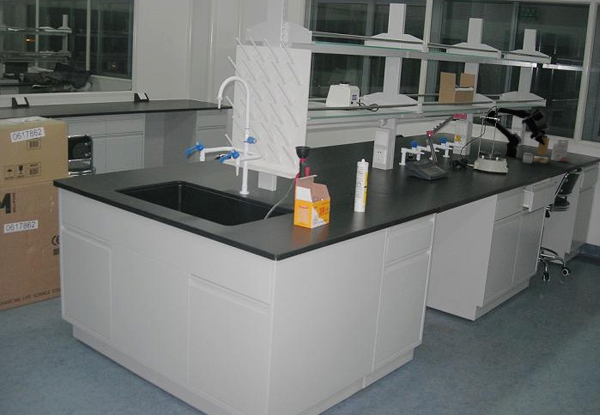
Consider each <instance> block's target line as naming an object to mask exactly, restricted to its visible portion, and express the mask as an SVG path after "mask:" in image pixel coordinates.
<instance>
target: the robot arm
mask: <svg viewBox="0 0 600 415" xmlns="http://www.w3.org/2000/svg"><path fill="white" fill-rule="evenodd" d="M500 107H501V108H500V109H499V110H498V113H501V114H505V115H506V114H507V115H511V116H512V115H513V116H516V117H517V118H520V119H522V120H521V125H524V124H525V125H526V126H527V128H528V131H530V132H531V134H530V135H529V136H530V137H529V138H530V139H531V140H534V141H536V142H537V143H538V144H539V143H541V144H542V145H545V143H544V141H543V139H542V137H543V135H546V134H547V130H546V129H549V124H548V123H547V122H543V123H542V124H541V125H540V124H538V123H537V122H540V121H541V120H542V119H544V118H545V117H546V115H545V113H544V111H542V110H541V108H537V109H536V110H535V111H534V112H531V111H530V110H528V109H516V108H515V109H514V108H509V107H505V106H500ZM496 115H497V114H496V113H495V111H491V112H490V113H489V114H488V117H494V118H495V117H496ZM484 121H485V122H486V123H488V124H491V125H492V126H493V127H495V123H496V121H495V120H494V119H489V118H487V119H485V120H484ZM495 129H496V130H498V131H499V132H500V133H501V134H502V135H504V136H505V137H506V139H507V141H508V142H507V143H506V152H505V156H506V157H512V158H515V157H517V154H518V147H519V146H520V145H521V144H522V138H521V136H520V135H518V133H512V132H511V131H510V130H509V129H507V127H505V125H503V124H502V123H501V122H500V121H499V120H497V123H496V127H495Z"/></svg>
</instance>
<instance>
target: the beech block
mask: <svg viewBox="0 0 600 415" xmlns="http://www.w3.org/2000/svg"><path fill="white" fill-rule="evenodd" d="M548 161H549V157H546V156H545V157H544V156H538V155H537V156H536V155H533V160H532V162H535V163H542V164H548Z"/></svg>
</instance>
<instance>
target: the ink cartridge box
mask: <svg viewBox="0 0 600 415" xmlns="http://www.w3.org/2000/svg"><path fill="white" fill-rule="evenodd" d="M568 146H569V140H567V139H558V140H557V143H556V142H553V146H552V150H551V152H552V153H551V157H550V160H552V161H554V162H566V160H567V159H566V158H567V153H568Z"/></svg>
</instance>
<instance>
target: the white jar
mask: <svg viewBox="0 0 600 415" xmlns="http://www.w3.org/2000/svg"><path fill="white" fill-rule="evenodd" d="M534 156H535V154H534V153H531V152H523V157H522V163H524V164H525V163H526V164H533V160H534Z"/></svg>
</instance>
